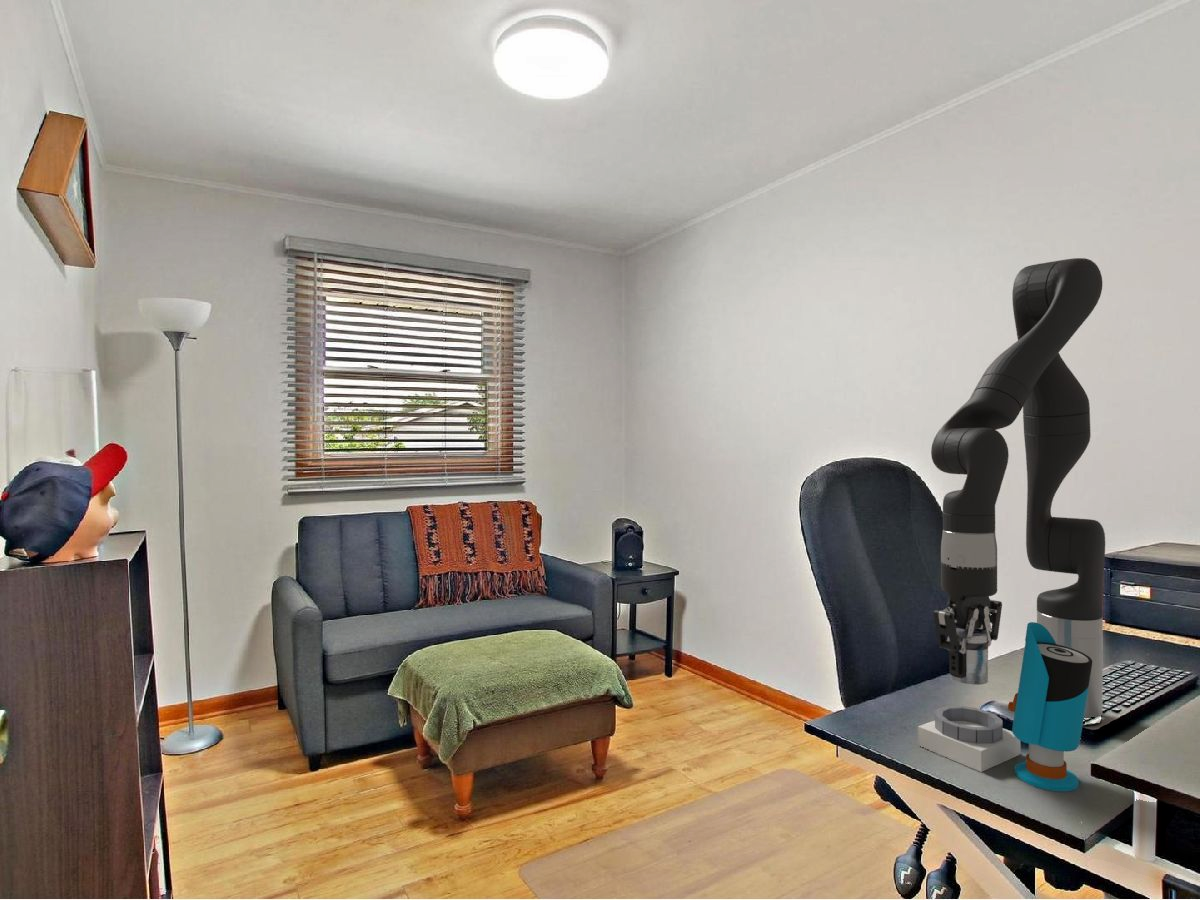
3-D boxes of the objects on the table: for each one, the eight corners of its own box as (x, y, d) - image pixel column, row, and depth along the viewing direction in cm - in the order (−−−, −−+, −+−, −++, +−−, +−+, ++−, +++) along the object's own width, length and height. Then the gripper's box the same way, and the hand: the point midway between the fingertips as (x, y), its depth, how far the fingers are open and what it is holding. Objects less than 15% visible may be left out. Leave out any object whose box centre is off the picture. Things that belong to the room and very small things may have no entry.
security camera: (1089, 640, 92) (1001, 627, 98) (1088, 802, 93) (1001, 779, 99) (1095, 625, 98) (1012, 614, 105) (1095, 777, 99) (1013, 757, 105)
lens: (962, 671, 111) (962, 625, 111) (995, 680, 107) (995, 632, 106) (943, 677, 108) (943, 630, 108) (975, 687, 104) (975, 638, 104)
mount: (957, 730, 115) (957, 699, 115) (1020, 754, 106) (1020, 721, 106) (918, 745, 110) (917, 713, 110) (981, 771, 101) (981, 737, 101)
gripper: (972, 552, 114) (972, 658, 114) (916, 562, 107) (916, 675, 107) (1020, 559, 108) (1020, 671, 108) (964, 570, 100) (964, 690, 101)
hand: (968, 672), depth 107 cm, fingers closed on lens, 5 cm apart
